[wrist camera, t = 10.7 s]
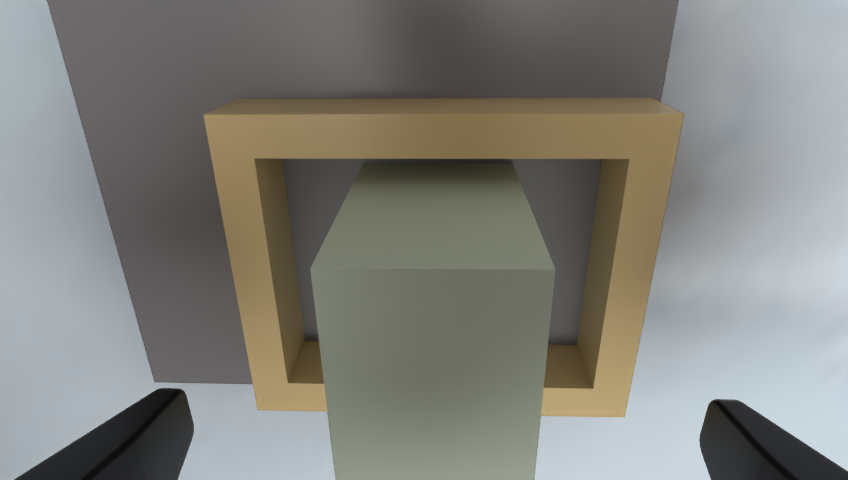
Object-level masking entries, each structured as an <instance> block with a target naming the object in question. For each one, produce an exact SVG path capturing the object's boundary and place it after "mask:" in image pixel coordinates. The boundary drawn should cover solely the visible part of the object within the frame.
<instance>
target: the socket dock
mask: <svg viewBox="0 0 848 480" xmlns="http://www.w3.org/2000/svg"><path fill="white" fill-rule="evenodd" d="M47 2H48V5H49V9H50V13H51V16H52V20H53V23H54V27H55V30H56V34H57V37H58V41H59V44H60V48H61V52H62V55H63V59H64V62H65V66H66V69H67V73H68V76H69V80H70V84H71V87H72V91H73V94H74V98H75V101H76V105H77V108H78V112H79V115H80V119H81V123H82V126H83V130H84V133H85V137H86V140H87V144H88V147H89V151H90V155H91V158H92V162H93V165H94V169H95V172H96V176H97V179H98V183H99V186H100V190H101V194H102V197H103V201H104V204H105V208H106V211H107V215H108V218H109V222H110V226H111V229H112V233H113V236H114V240H115V243H116V247H117V250H118V254H119V257H120V261H121V265H122V268H123V272H124V275H125V279H126V282H127V286H128V289H129V293H130V297H131V300H132V304H133V307H134V311H135V314H136V318H137V321H138V325H139V329H140V332H141V336H142V339H143V343H144V346H145V350H146V353H147V357H148V360H149V364H150V368H151V371H152V375H153V378H154V382H167V383H223V384H253V387H254V393H255V398H256V404H257V409H258V410H279V411H327V404H326V396H325V387H324V379H323V371H322V362H321V354H320V346H319V337H318V329H317V320H316V312H315V304H314V295H313V287H312V279H311V270H310V268H311V266H312V264H313V262H314V260H315V258H316V256H317V254H318V252H319V250H320V248H321V246H322V244H323V242H324V240H325V238H326V236H327V234H328V232H329V230H330V228H331V226H332V224H333V222H334V220H335V218H336V216H337V214H338V212H339V210H340V208H341V206H342V204H343V202H344V200H345V198H346V196H347V194H348V192H349V190H350V188H351V186H352V184H353V182H354V180H355V178H356V176H357V174H358V172H359V170H360V168H361V166H362V164H489V163H513V165H514V168H515V170H516V173H517V175H518V178H519V180H520V183H521V185H522V188H523V190H524V193H525V195H526V198H527V200H528V203H529V205H530V208H531V210H532V213H533V215H534V218H535V220H536V222H537V225H538V227H539V230H540V232H541V235H542V237H543V240H544V242H545V245H546V247H547V250H548V252H549V255H550V257H551V260H552V262H553V265H554V267H555V279H554V289H553V299H552V309H551V319H550V329H549V339H548V349H547V359H546V369H545V379H544V389H543V398H542V408H541V416H580V417H625V413H626V408H627V403H628V398H629V393H630V388H631V383H632V377H633V372H634V367H635V362H636V357H637V352H638V347H639V342H640V337H641V332H642V326H643V321H644V316H645V311H646V306H647V301H648V296H649V291H650V286H651V280H652V275H653V270H654V265H655V260H656V255H657V250H658V245H659V240H660V234H661V229H662V224H663V219H664V214H665V209H666V204H667V199H668V194H669V188H670V183H671V178H672V173H673V168H674V163H675V158H676V153H677V148H678V143H679V137H680V132H681V127H682V122H683V117H684V113H682V112H680V111H678V110H675V109H673V108H671V107H669V106H667V105H665V104H663V103H661V97H662V91H663V85H664V80H665V74H666V68H667V62H668V57H669V51H670V45H671V40H672V34H673V28H674V23H675V17H676V11H677V5H678V0H47Z"/></svg>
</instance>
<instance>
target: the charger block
mask: <svg viewBox="0 0 848 480" xmlns="http://www.w3.org/2000/svg"><path fill="white" fill-rule="evenodd" d="M310 270H311V279H312V287H313V295H314V304H315V312H316V320H317V329H318V337H319V346H320V354H321V362H322V371H323V379H324V387H325V396H326V404H327V412H328V421H329V429H330V438H331V446H332V454H333V463H334V471H335V479H336V480H534V478H535V468H536V458H537V448H538V438H539V428H540V418H541V408H542V398H543V389H544V379H545V369H546V359H547V349H548V339H549V329H550V319H551V309H552V299H553V289H554V279H555V267H554V265H553V262H552V260H551V257H550V255H549V252H548V250H547V247H546V245H545V242H544V240H543V237H542V235H541V232H540V230H539V227H538V225H537V222H536V220H535V218H534V215H533V213H532V210H531V208H530V205H529V203H528V200H527V198H526V195H525V193H524V190H523V188H522V185H521V183H520V180H519V178H518V175H517V173H516V170H515V168H514V165H513V163H489V164H362V166H361V168H360V170H359V172H358V174H357V176H356V178H355V180H354V182H353V184H352V186H351V188H350V190H349V192H348V194H347V196H346V198H345V200H344V202H343V204H342V206H341V208H340V210H339V212H338V214H337V216H336V218H335V220H334V222H333V224H332V226H331V228H330V230H329V232H328V234H327V236H326V238H325V240H324V242H323V244H322V246H321V248H320V250H319V252H318V254H317V256H316V258H315V260H314V262H313V264H312V266H311V268H310Z"/></svg>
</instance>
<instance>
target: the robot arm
mask: <svg viewBox="0 0 848 480" xmlns="http://www.w3.org/2000/svg"><path fill="white" fill-rule="evenodd" d="M193 432H194V425H193V420H192V416H191V412H190V408H189V404H188V400H187V396H186V394H185V392H184V391H183V390H181V389H173V388H162V389H157V390H155V391H154V392H152V393H151V394H149V395H147V396H146V397H144V398H143V399H141V400H139V401H138V402H136V403H135V404H133V405H132V406H130V407H128V408H127V409H125V410H124V411H122V412H120V413H119V414H117V415H116V416H114V417H113V418H111V419H109V420H108V421H106V422H105V423H103V424H101V425H100V426H98V427H97V428H95V429H93V430H92V431H90V432H89V433H87V434H86V435H84V436H82V437H81V438H79V439H78V440H76V441H74V442H73V443H71V444H70V445H68V446H67V447H65V448H63V449H62V450H60V451H59V452H57V453H55V454H54V455H52V456H51V457H49V458H48V459H46V460H44V461H43V462H41V463H40V464H38V465H36V466H35V467H33V468H32V469H30V470H29V471H27V472H25V473H24V474H22V475H21V476H19V477H17V478H16V479H14V480H178V477H179V474H180V471H181V469H182V466H183V463H184V460H185V457H186V455H187V452H188V449H189V446H190V443H191V441H192V437H193ZM700 448H701V452H702V455H703V458H704V461H705V463H706V466H707V469H708V472H709V475H710V478H711V480H848V471H846V470H845V469H843V468H842V467H840V466H839V465H837V464H836V463H834V462H833V461H831V460H829V459H828V458H826V457H825V456H823V455H822V454H820V453H819V452H817V451H816V450H814V449H813V448H811V447H810V446H808V445H807V444H805V443H803V442H802V441H800V440H799V439H797V438H796V437H794V436H793V435H791V434H790V433H788V432H787V431H785V430H784V429H782V428H781V427H779V426H777V425H776V424H774V423H773V422H771V421H770V420H768V419H767V418H765V417H764V416H762V415H761V414H759V413H758V412H756V411H754V410H753V409H751V408H750V407H748V406H747V405H745V404H744V403H742V402H740V401H738V400H726V399H716V400H712V401H711V402H710V403H709V406H708V408H707V412H706V415H705V419H704V423H703V426H702V430H701V433H700Z"/></svg>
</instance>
